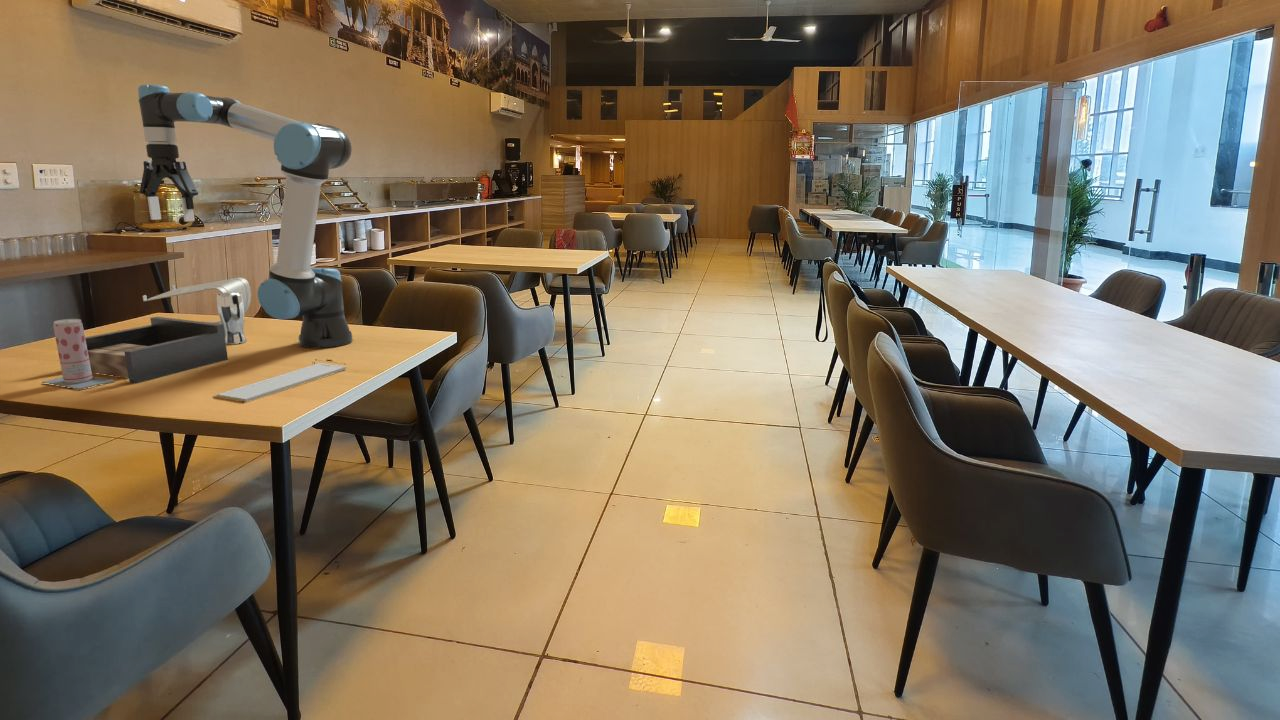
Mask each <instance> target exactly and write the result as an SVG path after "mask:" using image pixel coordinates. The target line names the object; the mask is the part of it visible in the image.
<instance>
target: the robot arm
mask: <svg viewBox="0 0 1280 720" xmlns="http://www.w3.org/2000/svg"><path fill="white" fill-rule="evenodd" d="M137 91H138V92H137V93H138V103H139V108H140V114H141V120H142V128H143V137H144V141H145V142H146V143H147V144H146V145H145V147H146V154H147V155H146V156H147V157H148V158H150V159H151V161H150V160H145V161H143V172H142V178H141V182H140V183H141V184H140V189H139V193H140V194H141V195H145V196H144V197H146V201H147V207H148V211H149V216H150V220H152V221H153V220H154V221H155V220H162V213H161V208H160V207H161V206H160V201H159V196H158V194H157V193H158V190H159V188H160V185H161V184H162V182H163V180H164V179H169V180H171V181H172V183H173V185H174V186H175V187H176V190H178V192H179V193H180V194H181V196H180V201H181V209H182V215H183V221H184V222H195V221H196V220H195V212H194V208H195V206H194V199H193V198H194V197H195V196H198V195H199V192H198V190H197V187H196V186H195V184H194V182H193V179H192V177H191V175H190V173H189V171H188V169H187V165H186V162H185V161H177V159H178V158H179V157H180V155H179V148H178V146H177V144H175V143H177V135H176V126H175V122H187V123H188V122H190V123H200V124H201V123H203V124H214V125H221V126H225V127H228V128H232V129H235V130H238V131H241V132H245V133H247V134H249V135H254V136H257V137H260V138H264V139H267V140H270V141H273V152H274V153H273V154H274V155H275V156H276V159H277V161H278V163H280V164H281V166H280V172H282V174H283V175H284V176H285V186H284V196H283V204H282V210H281V213H282V214H281V222H280V230H279V238H278V248H277V256H276V257H277V258H276V261H275V263H274V264H272V265H270V266H269V272H268V279H267V278H266V279H265V280H263V281H262V282H260V284H259V285H258V288H257V299H258V301H259V305H260V306H261V308H262V309H263V310H264V312H265V313H266V314H267V315H268V316H270V317H271V318H273V319H278V320H287V319H294V318H296V317H300V316H302V323H301V327H300V334H299V335H298V344H299V346H300V345H301V347H303V346H305V348H310V347H319V348H318V349H320V347H323V349H324V347H325V348H333V347H334V346H335V347H340V346H344V345H348V344H351V343H352V342H353V340H354V339H353V333H352V331H351V330H350V327H349V325H348V322H347V319H346V317H345V308H344V298H343V285H342V284H343V280H342V277H341V271H339V269H337V268H332V267H331V268H328V267H311V263H312V256H313V248H314V240H315V235H316V234H315V233H316V225H317V218H318V209H319V202H320V196H321V187H322V184H324V183H326V181H328V180H329V173H330V170H331V169H332V170H333V169H338V168H340V167H341V168H342V167H343V166H344V165H345V164H347V162H348V161H349V160H350V158H351V156H352V150H353V149H352V148H353V147H352V143H351V140H350V138H349V136H348V135H347V134H346V133H345V131H343V130H342V129H340V128H339V127H336V126H333V125H325V124H322V123H317V122H313V123H311V122H304V121H299V120H295V119H292V118H289V117H286V116H283V115H279V114H276V113H274V112H270V111H267V110H265V109H261V108H257V107H255V106H251V105H247V104H244V103H241V102H240V101H239V100H236V99H233V98H231V97H220V96H213V95H204V93H200V92H192V91H186V92H171V91H170V88H169V87H168V86H165V85H162V84H161V85H159V84H141V85H139V86H138V88H137Z"/></svg>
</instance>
